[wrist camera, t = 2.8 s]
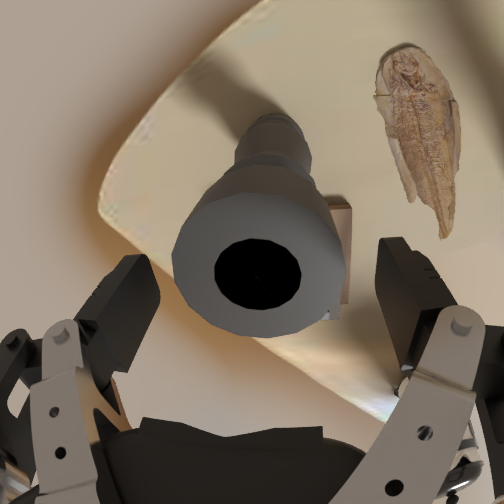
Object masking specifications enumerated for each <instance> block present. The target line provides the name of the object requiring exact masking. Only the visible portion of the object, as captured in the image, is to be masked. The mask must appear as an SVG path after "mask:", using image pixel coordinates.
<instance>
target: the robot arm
mask: <svg viewBox="0 0 504 504" xmlns="http://www.w3.org/2000/svg"><path fill="white" fill-rule="evenodd" d="M97 287H98V288H96V289H95V290H94V291H93V293H92V296H90V297H89V298H88V300H87V301H86V302H85V304H84V305H83V307H82V308H81V309H80V311H79V312H78V313H77V315H76V316H75V318H74V319H73V320H71V319H66V320H62V321H59V322H57V323H56V324H54V325H53V326H51V327H50V328H49V329H48V330H47V332H46V333H45V335H44V337H43V338H42V339H37V340H32V339H31V337H30V336H29V334H28V333H27V331H26V330H24V329H16V330H14V331H12V332H10V333H9V334H8V335H7V336H6V337H5V338H4V339H3V340H2V342H1V343H0V504H432V502H433V501H434V499H435V497H436V495H437V493H438V491H439V490H440V488H441V486H442V484H443V482H444V480H445V478H446V476H447V473H448V471H449V469H450V467H451V465H452V463H453V460H454V458H455V456H456V453H457V451H458V449H459V446H460V444H461V441H462V438H463V436H464V433H465V430H466V428H467V425H468V422H469V419H470V416H471V413H472V409H473V406H474V403H476V407H477V410H478V414H479V417H480V421H481V425H482V429H483V433H484V438H485V442H486V447H487V451H488V457H489V462H490V468H491V473H492V480H493V487H494V495H495V501H494V502H493V503H492V504H504V327H501V326H491V325H485V324H484V321H483V320H482V318H481V317H480V315H479V314H478V313H476V312H475V311H474V310H472V309H470V308H467V307H465V306H459V305H458V304H457V302H456V301H455V299H454V297H453V296H452V294H451V292H450V291H449V289H448V288H447V286H446V284H445V283H444V281H443V280H442V278H440V275H439V274H438V272H437V271H436V270H435V268H434V266H433V265H432V263H431V262H430V260H429V259H428V258H427V257H426V256H424V255H423V254H421V253H420V252H419V251H417V250H416V251H412V250H411V249H410V247H409V246H408V244H407V243H406V241H405V240H404V238H403V237H388V238H381V239H380V240H379V245H378V255H377V265H376V274H375V290H376V295H377V298H378V301H379V304H380V306H381V309H382V312H383V315H384V318H385V321H386V324H387V327H388V330H389V333H390V336H391V339H392V342H393V345H394V349H395V352H396V355H397V359H398V362H399V365H400V369H401V370H407V369H413V370H414V372H413V374H412V376H411V378H410V380H409V382H408V384H407V386H406V388H405V390H404V392H403V394H402V396H401V398H400V400H399V401H398V403H397V405H396V407H395V409H394V410H393V412H392V414H391V416H390V417H389V419H388V421H387V422H386V424H385V426H384V427H383V429H382V431H381V432H380V434H379V435H378V437H377V439H376V440H375V442H374V443H373V445H372V446H371V448H370V449H369V451H368V452H367V453H365V452H364V451H362V450H360V449H358V448H356V447H354V446H353V445H350V444H347V443H345V442H341V441H338V440H334V439H329V438H323V429H322V426H318V427H317V426H316V427H298V428H272V429H268V430H263V431H258V432H253V433H248V434H243V435H237V436H231V437H222V436H218V435H215V434H212V433H209V432H206V431H203V430H200V429H197V428H194V427H192V426H189V425H186V424H184V423H180V422H173V421H165V420H159V419H152V418H146V417H143V418H142V421H141V424H140V427H139V428H136V429H132V427H131V426H130V424H129V422H128V419H127V417H126V414H125V411H124V408H123V405H122V402H121V399H120V396H119V393H118V390H117V386H116V383H115V380H114V379H113V378H112V374H113V372H114V371H118V372H125V373H127V372H128V370H129V368H130V366H131V364H132V361H133V359H134V357H135V355H136V353H137V350H138V348H139V346H140V344H141V342H142V340H143V338H144V335H145V333H146V331H147V329H148V327H149V325H150V323H151V321H152V319H153V317H154V315H155V313H156V310H157V308H158V306H159V304H160V290H159V287H158V284H157V281H156V279H155V276H154V273H153V270H152V267H151V264H150V261H149V259H148V257H147V256H146V255H145V254H136V255H126V256H124V257H123V259H122V260H121V261H120V262H119V264H118V265H117V266H116V267H115V269H114V270H113V271H112V272H110V273H109V274H108V275H107V276H105V277H104V278H103V280H102V281H101V282H100V283H99V285H98V286H97ZM19 378H20V379H21V381H22V382H23V383H24V384H25V385H26V386H27V387H28V389H29V390H30V393H29V395H28V397H27V399H26V402H25V403H24V405H23V407H22V410H21V412H20V414H19V416H18V418H16V417H15V416H13V415H12V414H11V413H10V411H9V409H8V406H7V400H8V397H9V395H10V393H11V391H12V390H13V388H14V386H15V384H16V382H17V380H18V379H19ZM36 470H37V476H38V481H39V484H38V485H36V486H35V487H31V484H32V481H33V478H34V475H35V472H36Z"/></svg>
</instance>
